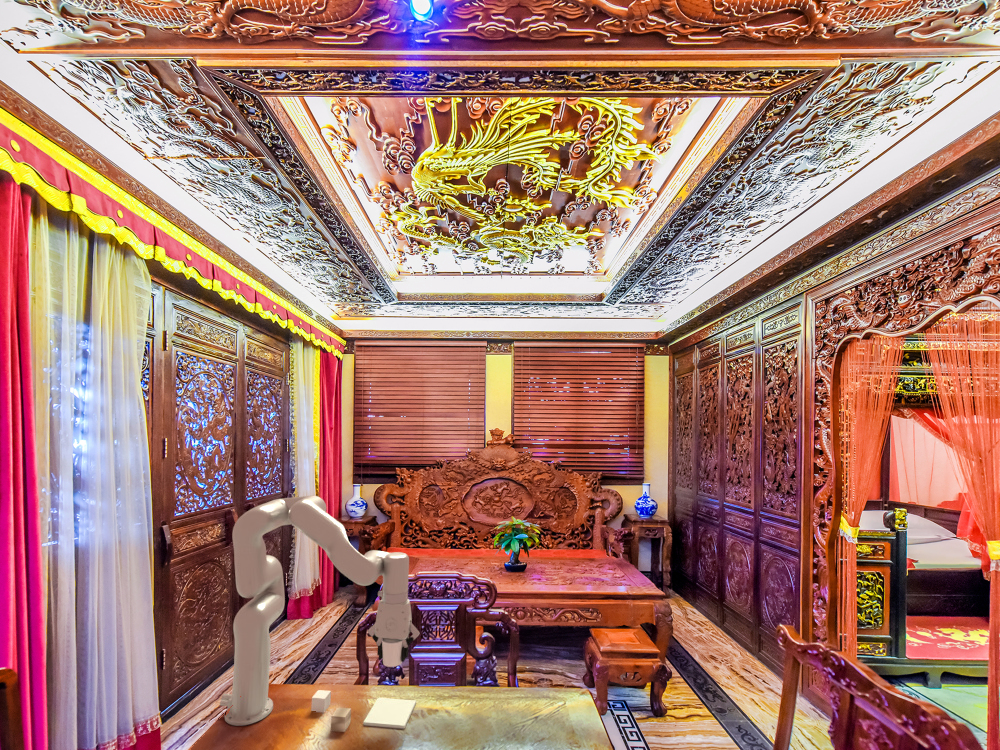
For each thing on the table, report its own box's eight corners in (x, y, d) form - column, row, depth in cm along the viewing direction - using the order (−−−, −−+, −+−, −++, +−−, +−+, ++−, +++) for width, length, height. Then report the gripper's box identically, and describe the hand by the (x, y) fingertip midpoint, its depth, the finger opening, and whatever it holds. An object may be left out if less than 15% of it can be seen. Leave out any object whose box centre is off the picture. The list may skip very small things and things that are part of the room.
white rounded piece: (398, 669, 138) (399, 644, 139) (376, 666, 139) (377, 641, 140) (408, 657, 145) (408, 633, 145) (387, 655, 146) (387, 631, 147)
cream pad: (363, 725, 136) (363, 722, 136) (378, 700, 147) (378, 697, 148) (404, 728, 134) (404, 725, 134) (416, 703, 146) (416, 700, 146)
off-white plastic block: (311, 711, 141) (311, 697, 142) (317, 703, 145) (318, 689, 146) (324, 713, 141) (324, 698, 141) (330, 704, 145) (330, 691, 145)
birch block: (330, 731, 133) (331, 716, 133) (336, 722, 137) (337, 707, 137) (344, 732, 132) (345, 717, 133) (350, 723, 136) (351, 708, 137)
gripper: (362, 599, 141) (359, 663, 139) (419, 602, 139) (417, 667, 138) (371, 590, 148) (369, 650, 147) (426, 593, 147) (424, 654, 145)
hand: (392, 658), depth 142 cm, fingers closed on white rounded piece, 6 cm apart
